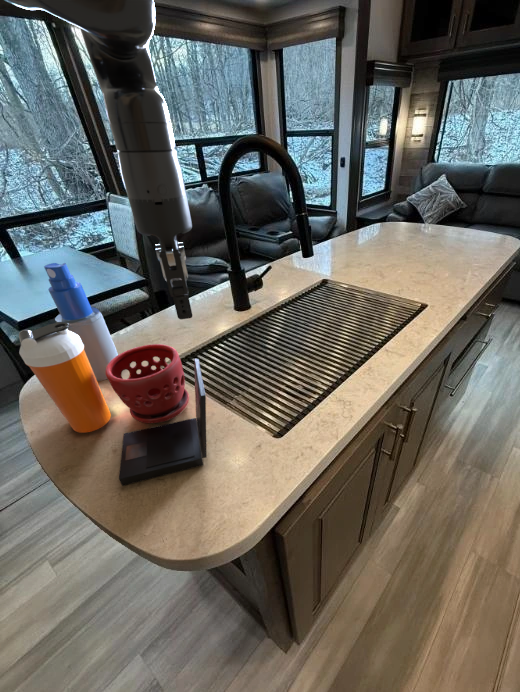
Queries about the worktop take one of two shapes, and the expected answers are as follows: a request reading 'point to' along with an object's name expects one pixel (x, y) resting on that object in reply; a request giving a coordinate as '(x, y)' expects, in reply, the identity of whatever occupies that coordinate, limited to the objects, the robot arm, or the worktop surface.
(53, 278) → the spray bottle
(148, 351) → the flower pot
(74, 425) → the shaker bottle
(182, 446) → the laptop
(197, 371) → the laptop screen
